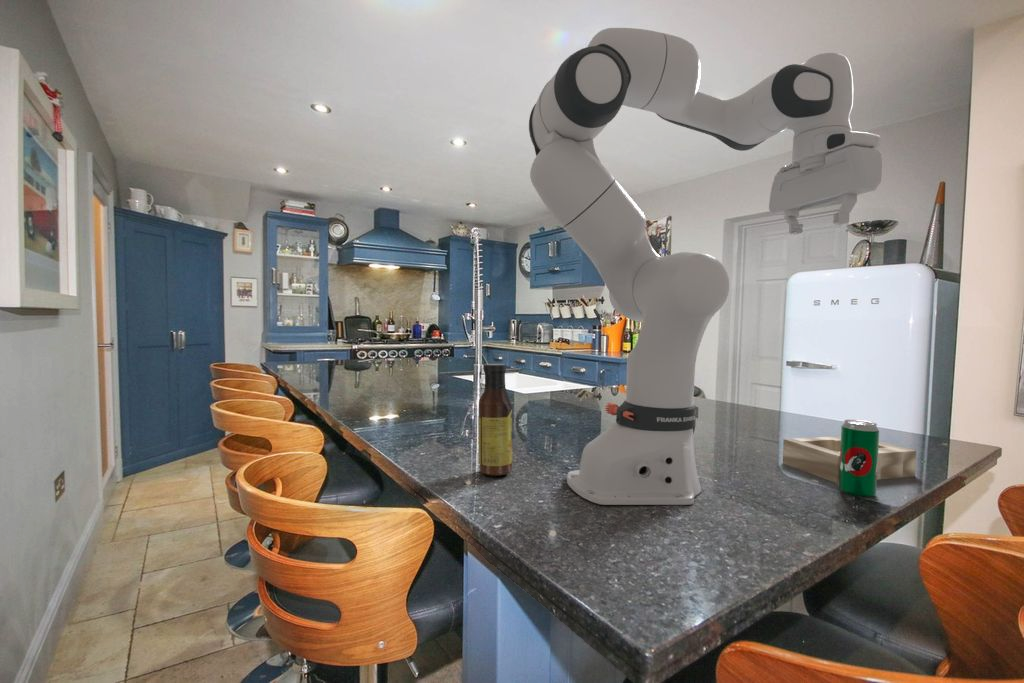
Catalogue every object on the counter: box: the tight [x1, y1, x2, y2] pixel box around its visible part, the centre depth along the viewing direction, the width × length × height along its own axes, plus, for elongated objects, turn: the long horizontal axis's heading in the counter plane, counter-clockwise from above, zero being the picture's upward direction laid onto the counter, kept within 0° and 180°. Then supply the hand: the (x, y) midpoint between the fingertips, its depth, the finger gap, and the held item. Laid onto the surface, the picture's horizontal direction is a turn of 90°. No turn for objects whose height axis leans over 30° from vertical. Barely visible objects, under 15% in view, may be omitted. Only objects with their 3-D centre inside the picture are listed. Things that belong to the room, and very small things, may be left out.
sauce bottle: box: [477, 363, 514, 477], centre depth 86 cm, size 6×6×20 cm
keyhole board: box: [782, 435, 917, 484], centre depth 90 cm, size 18×12×5 cm, turn 104°
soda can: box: [838, 419, 880, 499], centre depth 77 cm, size 5×5×12 cm
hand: (817, 229), depth 85 cm, fingers open, 8 cm apart
